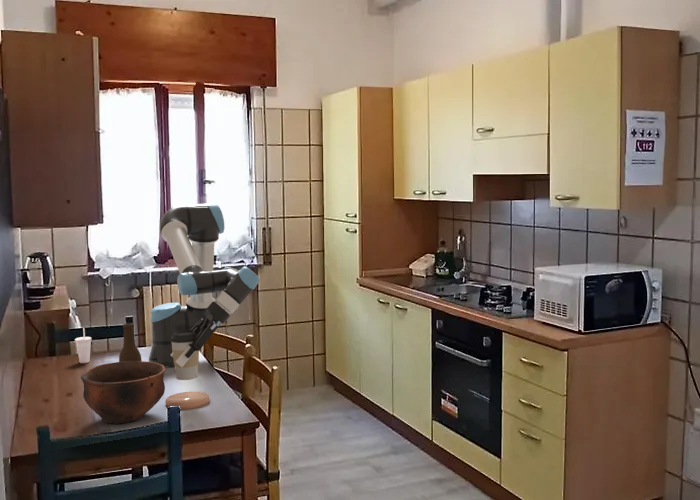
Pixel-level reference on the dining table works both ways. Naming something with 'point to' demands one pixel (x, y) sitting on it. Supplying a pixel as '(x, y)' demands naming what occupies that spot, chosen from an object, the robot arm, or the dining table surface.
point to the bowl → (123, 389)
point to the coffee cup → (178, 347)
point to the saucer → (188, 400)
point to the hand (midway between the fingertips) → (176, 361)
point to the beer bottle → (129, 345)
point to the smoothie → (83, 348)
